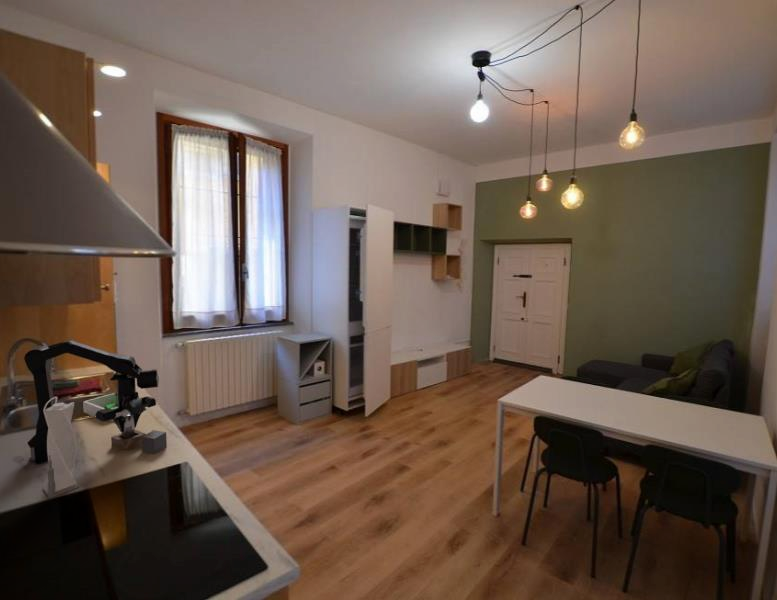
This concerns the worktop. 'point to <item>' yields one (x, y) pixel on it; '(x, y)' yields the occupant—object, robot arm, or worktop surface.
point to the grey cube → (154, 442)
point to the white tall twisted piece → (60, 448)
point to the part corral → (100, 404)
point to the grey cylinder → (128, 426)
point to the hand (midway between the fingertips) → (128, 429)
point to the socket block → (127, 441)
